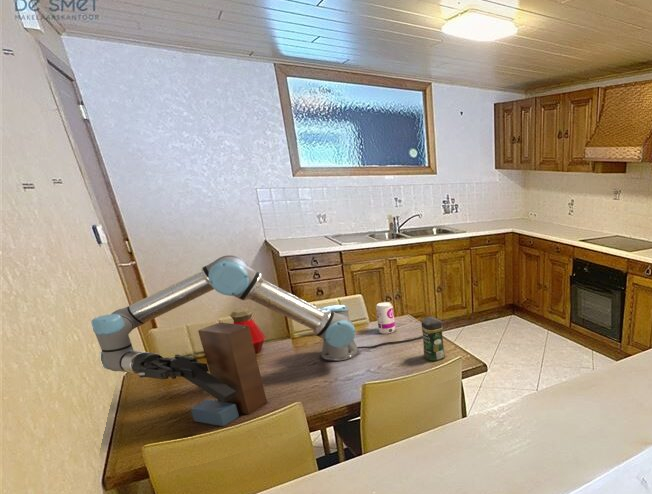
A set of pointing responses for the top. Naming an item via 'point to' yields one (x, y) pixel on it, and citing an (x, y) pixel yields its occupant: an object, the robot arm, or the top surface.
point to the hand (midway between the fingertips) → (199, 370)
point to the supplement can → (385, 317)
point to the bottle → (244, 318)
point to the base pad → (215, 412)
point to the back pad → (205, 380)
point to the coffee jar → (432, 338)
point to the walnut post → (234, 363)
